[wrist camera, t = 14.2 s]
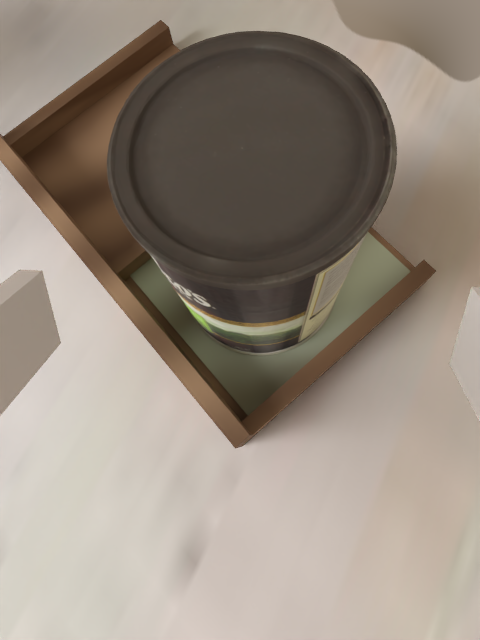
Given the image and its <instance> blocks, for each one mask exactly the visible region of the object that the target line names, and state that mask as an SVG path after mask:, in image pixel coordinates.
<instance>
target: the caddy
mask: <svg viewBox="0 0 480 640" xmlns="http://www.w3.org/2000/svg"><path fill="white" fill-rule="evenodd" d="M179 51H180V50H179V49H178V48H177V47H176V46H175V45H174V44H173V41H172V37H171V34H170V30H169V27H168V26H167V25H166V24H165V23H164V22H163V21H161V20H160V21H159V22H158V23H156V24H155V25H153V26H152V27H151V28H149V29H148V30H147V31H145V32H144V33H143V34H141V35H140V36H139V37H137V38H136V39H135V40H133V41H132V42H130V43H129V44H128V45H126V46H125V47H124V48H122V49H121V50H120V51H118V52H117V53H116V54H114V55H113V56H112V57H110V58H109V59H107V60H106V61H105V62H103V63H102V64H101V65H99V66H98V67H97V68H95V69H94V70H93V71H91V72H90V73H89V74H87V75H86V76H84V77H83V78H82V79H80V80H79V81H78V82H76V83H75V84H74V85H72V86H71V87H70V88H68V89H67V90H66V91H64V92H63V93H61V94H60V95H59V96H57V97H56V98H55V99H53V100H52V101H51V102H49V103H48V104H47V105H45V106H44V107H43V108H41V109H40V110H38V111H37V112H36V113H34V114H33V115H32V116H30V117H29V118H28V119H26V120H25V121H24V122H22V123H21V124H20V125H18V126H17V127H15V128H14V129H13V130H11V131H10V132H9V133H7V134H6V135H5V136H2V135H1V134H0V160H1V162H2V163H3V164H4V165H5V167H6V168H7V169H8V170H9V171H10V173H11V174H12V175H13V176H14V178H15V179H16V180H17V181H18V183H19V184H20V185H21V186H22V187H23V189H24V190H25V191H26V192H27V194H28V195H29V196H30V197H31V198H32V200H33V201H34V202H35V203H36V205H37V206H38V207H39V208H40V209H41V211H42V212H43V213H44V214H45V216H46V217H47V218H48V219H49V220H50V222H51V223H52V224H53V225H54V227H55V228H56V229H57V230H58V232H59V233H60V234H61V235H62V236H63V238H64V239H65V240H66V241H67V243H68V244H69V245H70V246H71V247H72V249H73V250H74V251H75V252H76V254H77V255H78V256H79V257H80V258H81V260H82V261H83V262H84V263H85V265H86V266H87V267H88V268H89V270H90V271H91V272H92V273H93V274H94V276H95V277H96V278H97V279H98V281H99V282H100V283H101V284H102V285H103V287H104V288H105V289H106V290H107V292H108V293H109V294H110V295H111V296H112V298H113V299H114V300H115V301H116V303H117V304H118V305H119V306H120V308H121V309H122V310H123V311H124V312H125V314H126V315H127V316H128V317H129V319H130V320H131V321H132V322H133V323H134V325H135V326H136V327H137V328H138V330H139V331H140V332H141V333H142V334H143V336H144V337H145V338H146V339H147V341H148V342H149V343H150V344H151V345H152V347H153V348H154V349H155V350H156V352H157V353H158V354H159V355H160V357H161V358H162V359H163V360H164V361H165V363H166V364H167V365H168V366H169V368H170V369H171V370H172V371H173V372H174V374H175V375H176V376H177V377H178V379H179V380H180V381H181V382H182V383H183V385H184V386H185V387H186V388H187V390H188V391H189V392H190V393H191V395H192V396H193V397H194V398H195V399H196V401H197V402H198V403H199V404H200V406H201V407H202V408H203V409H204V410H205V412H206V413H207V414H208V415H209V417H210V418H211V419H212V420H213V421H214V423H215V424H216V425H217V426H218V428H219V429H220V430H221V431H222V432H223V434H224V435H225V436H226V437H227V439H228V440H229V441H230V442H231V444H232V445H233V446H234V447H235V448H238V447H241V446H243V445H244V444H245V443H247V442H248V441H249V440H250V439H251V438H252V437H253V436H254V435H255V434H257V433H258V432H259V431H260V430H261V429H262V428H263V427H264V426H265V425H267V424H268V423H269V422H270V421H271V420H272V419H273V418H274V417H276V416H277V415H278V414H279V413H280V412H281V411H282V410H283V409H284V408H286V407H287V406H288V405H289V404H290V403H291V402H292V401H293V400H295V399H296V398H297V397H298V396H299V395H300V394H301V393H302V392H303V391H305V390H306V389H307V388H308V387H309V386H310V385H311V384H312V383H314V382H315V381H316V380H317V379H318V378H319V377H320V376H321V375H322V374H324V373H325V372H326V371H327V370H328V369H329V368H330V367H331V366H333V365H334V364H335V363H336V362H337V361H338V360H339V359H340V358H341V357H343V356H344V355H345V354H346V353H347V352H348V351H349V350H350V349H352V348H353V347H354V346H355V345H356V344H357V343H358V342H359V341H360V340H362V339H363V338H364V337H365V336H366V335H367V334H368V333H369V332H371V331H372V330H373V329H374V328H375V327H376V326H377V325H378V324H379V323H381V322H382V321H383V320H384V319H385V318H386V317H387V316H388V315H389V314H391V313H392V312H393V311H394V310H395V309H396V308H397V307H398V306H400V305H401V304H402V303H403V302H404V301H405V300H406V299H407V298H408V297H410V296H411V295H412V294H413V293H414V292H415V291H416V290H417V289H419V288H420V287H421V286H422V285H423V284H424V283H425V282H426V281H427V280H428V279H429V278H430V277H431V276H432V275H433V274H434V273H435V272H436V270H434V269H433V268H432V267H431V266H430V265H429V264H428V263H427V262H426V261H425V260H423V261H422V262H421V263H420V264H419V265H418V266H416V267H414V266H413V265H412V264H411V263H410V262H409V261H408V260H406V259H405V258H404V257H403V256H402V255H401V254H400V253H399V252H398V251H397V250H396V249H395V248H393V247H392V246H391V245H390V244H389V243H388V242H387V241H386V240H385V239H384V238H383V237H382V236H380V235H379V234H378V233H377V232H376V231H375V230H374V229H373V228H372V227H371V228H370V229H369V231H368V232H367V233H366V235H365V238H364V240H363V242H362V244H361V246H360V248H359V250H358V253H357V255H356V257H355V259H354V261H353V263H352V265H351V268H350V270H349V272H348V274H347V277H346V279H345V281H344V283H343V285H342V287H341V289H340V291H339V293H338V296H337V298H336V302H335V304H334V307H333V309H332V311H331V314H330V315H329V317H328V319H327V320H326V322H325V323H324V325H323V326H322V327H321V328H320V330H319V331H318V332H317V333H316V334H315V335H314V336H312V337H311V338H310V339H309V340H307V341H306V342H305V343H303V344H301V345H300V346H298V347H295V348H293V349H291V350H288V351H285V352H282V353H279V354H274V355H264V356H255V355H247V354H242V353H237V352H235V351H232V350H230V349H227V348H225V347H223V346H221V345H220V344H218V343H217V342H215V341H214V340H212V339H211V338H210V337H209V336H207V335H206V334H205V333H204V332H203V330H202V329H201V328H200V327H199V326H198V325H197V323H196V322H195V320H194V318H193V317H192V315H191V313H190V311H189V309H188V308H187V306H186V305H185V303H184V302H183V300H182V299H181V298H180V296H179V295H178V293H177V292H176V291H175V289H174V288H173V287H172V285H171V283H170V282H169V281H168V279H167V278H166V276H165V275H164V274H163V272H162V271H161V269H160V268H159V266H158V265H157V263H156V262H155V260H154V259H153V258H152V257H151V255H150V254H149V253H148V252H147V251H146V250H145V249H144V248H143V247H142V246H141V245H140V244H139V243H138V242H137V240H136V239H135V238H134V237H133V236H132V234H131V233H130V231H129V230H128V228H127V227H126V226H125V224H124V223H123V221H122V219H121V217H120V215H119V213H118V211H117V209H116V207H115V204H114V202H113V198H112V195H111V192H110V188H109V183H108V177H107V154H108V146H109V142H110V137H111V134H112V130H113V127H114V124H115V121H116V119H117V116H118V114H119V112H120V111H121V109H122V107H123V105H124V103H125V101H126V99H127V98H128V97H129V95H130V93H131V92H132V91H133V89H134V88H135V87H136V86H137V85H138V84H139V83H140V81H141V80H142V79H143V78H144V77H145V76H146V75H147V74H148V73H150V72H151V71H152V70H153V69H154V68H155V67H157V66H158V65H159V64H161V63H162V62H163V61H165V60H166V59H168V58H169V57H171V56H172V55H174V54H176V53H177V52H179Z"/></svg>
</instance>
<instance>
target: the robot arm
mask: <svg viewBox="0 0 480 640" xmlns="http://www.w3.org/2000/svg"><path fill="white" fill-rule="evenodd" d="M60 343H61V342H60V338H59V334H58V330H57V326H56V322H55V319H54V315H53V311H52V307H51V303H50V299H49V295H48V291H47V288H46V284H45V280H44V276H43V272H42V271H35V270H19V271H17V272H16V273H15V274H13V275H12V276H11V277H9V278H8V279H7V280H5V281H4V282H3V283H1V284H0V416H1V414H2V413H3V412H4V411H5V409H6V408H7V407H8V406H9V405H10V403H11V402H12V401H13V400H14V399H15V397H16V396H17V395H18V394H19V393H20V391H21V390H22V389H23V388H24V387H25V385H26V384H27V383H28V382H29V381H30V379H31V378H32V377H33V376H34V375H35V373H36V372H37V371H38V370H39V369H40V367H41V366H42V365H43V364H44V363H45V361H46V360H47V359H48V358H49V357H50V355H51V354H52V353H53V352H54V351H55V349H56V348H57V347H58V346H59V345H60ZM449 364H450V366H451V368H452V370H453V372H454V374H455V376H456V378H457V380H458V382H459V383H460V385H461V387H462V389H463V391H464V393H465V395H466V397H467V399H468V401H469V403H470V404H471V406H472V408H473V410H474V412H475V414H476V416H477V418H478V420H479V422H480V287H471V290H470V293H469V297H468V300H467V304H466V307H465V311H464V314H463V317H462V321H461V324H460V328H459V331H458V335H457V338H456V342H455V345H454V348H453V352H452V355H451V359H450V362H449Z"/></svg>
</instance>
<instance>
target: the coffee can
mask: <svg viewBox="0 0 480 640" xmlns="http://www.w3.org/2000/svg"><path fill="white" fill-rule="evenodd" d="M396 156H397V146H396V135H395V130H394V125H393V122H392V119H391V115H390V113H389V110H388V108H387V105H386V103H385V101H384V99H383V98H382V96H381V94H380V92H379V91H378V89H377V88H376V86H375V85H374V84H373V82H372V81H371V79H370V78H369V77H368V76H367V75H366V74H365V73H364V72H363V71H362V70H361V69H360V68H359V67H358V66H357V65H355V64H354V63H353V62H352V61H350V60H349V59H348V58H346V57H345V56H343V55H342V54H340V53H339V52H337V51H335V50H333V49H332V48H330V47H328V46H326V45H323V44H321V43H319V42H316V41H314V40H311V39H307V38H304V37H301V36H297V35H292V34H287V33H281V32H265V31H247V32H235V33H229V34H224V35H220V36H216V37H212V38H209V39H206V40H203V41H200V42H198V43H195V44H193V45H191V46H189V47H187V48H185V49H183V50H181V51H179V52H177V53H176V54H174V55H172V56H171V57H169V58H168V59H166V60H165V61H163V62H162V63H161V64H159V65H158V66H157V67H155V68H154V69H153V70H152V71H151V72H150V73H148V74H147V75H146V76H145V77H144V78H143V79H142V80H141V81H140V83H139V84H138V85H137V86H136V87H135V88H134V89H133V91H132V92H131V93H130V95H129V97H128V98H127V99H126V101H125V103H124V105H123V107H122V109H121V111H120V112H119V114H118V116H117V119H116V121H115V124H114V127H113V130H112V134H111V137H110V142H109V146H108V154H107V177H108V183H109V188H110V192H111V195H112V198H113V202H114V204H115V207H116V209H117V211H118V213H119V215H120V217H121V219H122V221H123V223H124V224H125V226H126V227H127V228H128V230H129V231H130V233H131V234H132V236H133V237H134V238H135V239H136V240H137V242H138V243H139V244H140V245H141V246H142V247H143V248H144V249H145V250H146V251H147V252H148V253H149V254H150V255H151V257H152V258H153V259H154V260H155V262H156V263H157V265H158V266H159V268H160V269H161V271H162V272H163V274H164V275H165V276H166V278H167V279H168V281H169V282H170V283H171V285H172V287H173V288H174V289H175V291H176V292H177V293H178V295H179V296H180V298H181V299H182V300H183V302H184V303H185V305H186V306H187V308H188V309H189V311H190V313H191V315H192V317H193V318H194V320H195V322H196V323H197V325H198V326H199V327H200V328H201V329H202V330H203V332H204V333H205V334H206V335H207V336H209V337H210V338H211V339H212V340H214V341H215V342H217V343H218V344H220V345H221V346H223V347H225V348H227V349H230V350H232V351H235V352H237V353H242V354H247V355H255V356H264V355H274V354H279V353H282V352H285V351H288V350H291V349H293V348H295V347H298V346H300V345H301V344H303V343H305V342H306V341H307V340H309V339H310V338H311V337H312V336H314V335H315V334H316V333H317V332H318V331H319V330H320V328H321V327H322V326H323V325H324V323H325V322H326V320H327V319H328V317H329V315H330V314H331V311H332V309H333V307H334V304H335V302H336V298H337V296H338V293H339V291H340V289H341V287H342V285H343V283H344V281H345V279H346V277H347V274H348V272H349V270H350V268H351V265H352V263H353V261H354V259H355V257H356V255H357V253H358V250H359V248H360V246H361V244H362V242H363V240H364V238H365V235H366V233H367V232H368V231H369V229H370V228H371V226H372V225H373V223H374V222H375V220H376V219H377V217H378V215H379V214H380V212H381V210H382V208H383V206H384V205H385V203H386V200H387V198H388V195H389V192H390V189H391V187H392V183H393V179H394V174H395V169H396Z"/></svg>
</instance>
